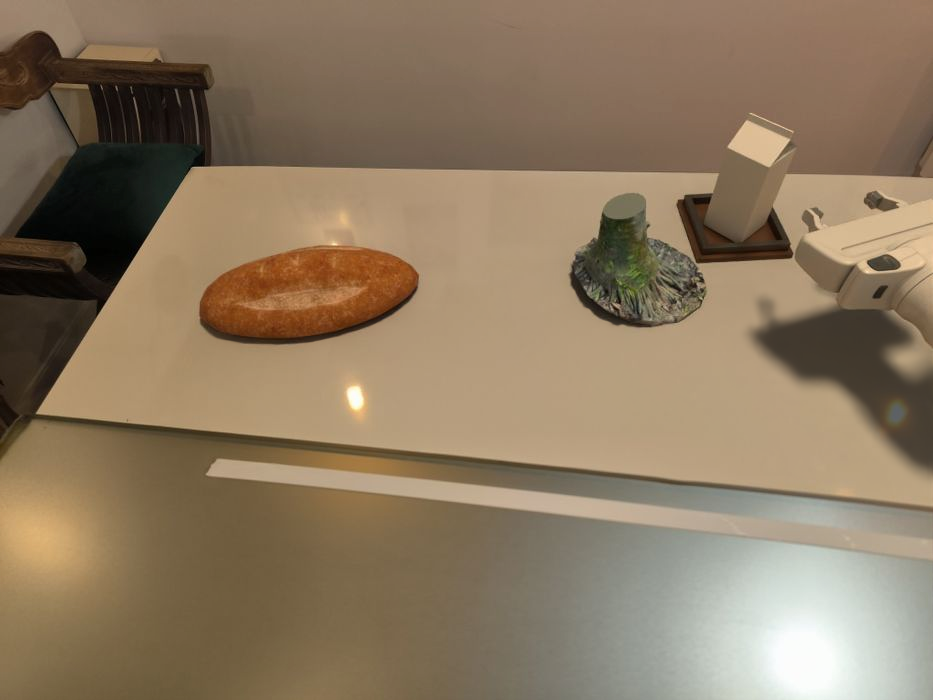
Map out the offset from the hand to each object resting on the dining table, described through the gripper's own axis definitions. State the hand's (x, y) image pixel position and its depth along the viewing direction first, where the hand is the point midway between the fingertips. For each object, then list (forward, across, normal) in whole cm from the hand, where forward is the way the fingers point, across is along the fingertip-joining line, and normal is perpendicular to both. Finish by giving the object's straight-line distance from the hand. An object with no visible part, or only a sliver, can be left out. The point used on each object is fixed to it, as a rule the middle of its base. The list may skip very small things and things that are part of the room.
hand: (839, 203), depth 81 cm
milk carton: (+15, +2, +16) cm, 22 cm away
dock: (+15, +2, +16) cm, 22 cm away
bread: (+24, +72, +16) cm, 78 cm away
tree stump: (+9, +22, +16) cm, 29 cm away
